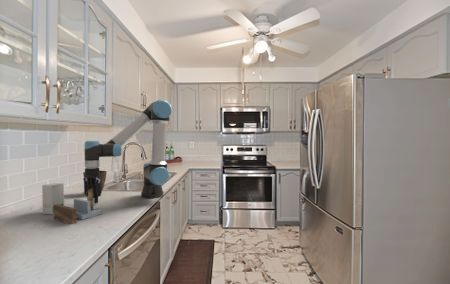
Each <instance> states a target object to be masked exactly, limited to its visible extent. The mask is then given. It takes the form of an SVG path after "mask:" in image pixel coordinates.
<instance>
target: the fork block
mask: <svg viewBox="0 0 450 284" xmlns="http://www.w3.org/2000/svg"><path fill="white" fill-rule="evenodd" d="M73 208H76V219H79V220H85V219H88V218H92V217H95V216H98V215H102V210H101V209H98V208H97V209H93V210H91V208H90V201H87V200H84V199H79V198H75V199H73Z"/></svg>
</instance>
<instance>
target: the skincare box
mask: <svg viewBox="0 0 450 284" xmlns="http://www.w3.org/2000/svg"><path fill="white" fill-rule="evenodd" d="M64 188H65V184H64V183H63V182H53V183H47V184H42V186H41V190H42V191H41V192H42V194H41V196H42V214H43V215H54V205H56V204H59V205H63V206H65V193H64V192H65V191H64Z"/></svg>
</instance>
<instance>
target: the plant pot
mask: <svg viewBox="0 0 450 284" xmlns="http://www.w3.org/2000/svg"><path fill="white" fill-rule="evenodd" d="M99 172H100V173H99V174H98V179H101V180H102V181H101V194H102V192H103V191H104V186H105V184H106V179H107V172H108V171H106V170H99ZM82 174H83V178H86V177H87V175H85V171H84V172H82Z"/></svg>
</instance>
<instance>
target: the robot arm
mask: <svg viewBox="0 0 450 284" xmlns="http://www.w3.org/2000/svg"><path fill="white" fill-rule="evenodd" d="M172 107H173V106H172V105H171V103H170V102H169V101H167V100H165V99H158V100H155V101H153V102H151V103H149V105H148V106H147V107H146V108H145V109H144V110H143V111H141V114H140V115H139V116H138V117H137V118H136V119H134V120H133V121H132V122H131V123H130V124H128V125H127V126H126V127H125V128H123V129H122V130H121V131H119V132H118V133H117V134H115V136H113V137H112V138H111V139H109V140H108V141H107V142H106V143H103V144H102V143H100V141H99V140H86V141H84V151H83V152H84V167H85V168H84V172H85V175H87V177H86V178H84V177H83V178H82V179H83V194H84V196H86V201H88V190H89V189H93V196H94V197H93V210H97V209H98V208H99V197H101V196H102V193H101V181H102V180H101V179H98V174H99V173H100V172H99V171H100V158H105V157H106V158H108V157H110V158H111V157H113V158H114V157H116V158H117V157H121V156H122V152H123V150H122V148H123V147H122V146H124V145H125V144H126V143H128V142H129V141H131V139H132V138H133V137H135V136H136V135H137V134H138V133H139V132H140V131H142V130H144V128H145V127H147V126H149V124H152V141H151V142H152V143H151V144H152V145H151V161H150V162H148V163H147V162H146V163H144V164H143V167H142V169H143V186H142V190H141V192H140V197H141V198H144V199H157V198H162V197H163V196H164V195H165V194H164V193H165V192H164V190H163V186H162V185H164V184H166V183H167V182H168V180H169V177H170V173H169V172H170V171H169V170H168V162H167V161H166V149H167V129H168V128H167V125H168V124H169V123H170V118H171V117H170V116H171V115H172V113H173V108H172Z"/></svg>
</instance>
